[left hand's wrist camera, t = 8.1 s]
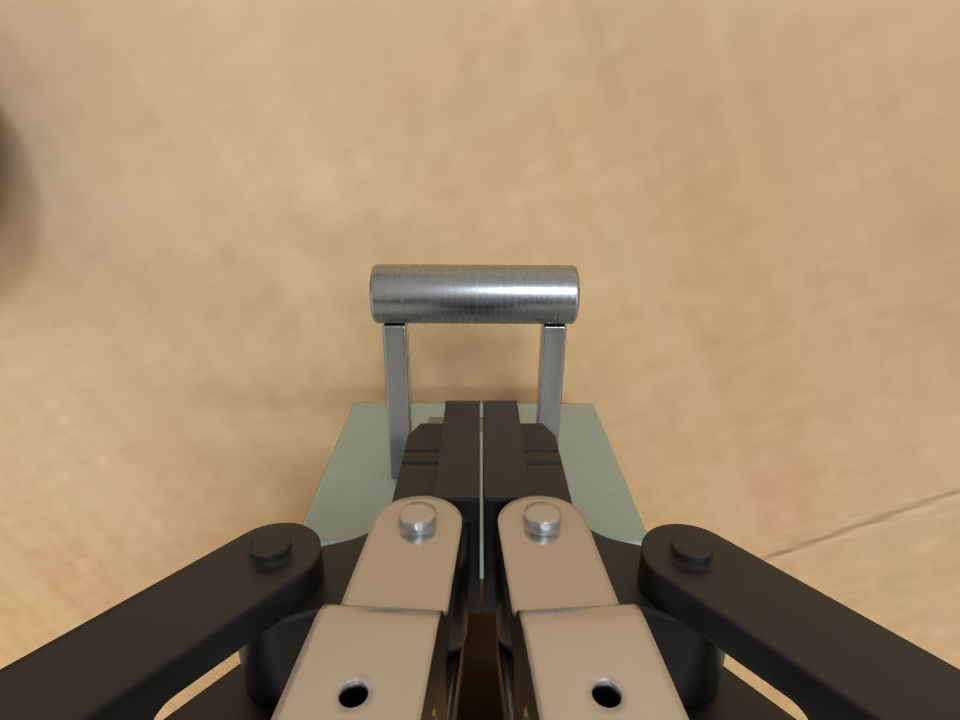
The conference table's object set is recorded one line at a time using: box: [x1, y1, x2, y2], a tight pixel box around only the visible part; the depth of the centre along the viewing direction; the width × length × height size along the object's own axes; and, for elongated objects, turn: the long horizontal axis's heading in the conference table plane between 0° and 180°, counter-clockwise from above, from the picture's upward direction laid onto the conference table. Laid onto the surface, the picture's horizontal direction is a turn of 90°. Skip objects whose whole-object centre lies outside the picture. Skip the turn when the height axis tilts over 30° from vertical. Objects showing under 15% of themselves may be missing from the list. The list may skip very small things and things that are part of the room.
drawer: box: [303, 264, 647, 720], centre depth 20 cm, size 23×9×8 cm, turn 0°
